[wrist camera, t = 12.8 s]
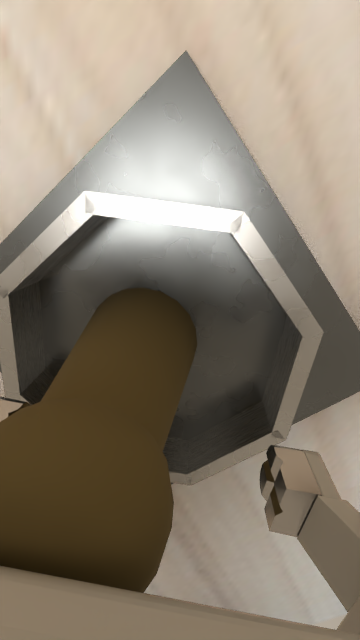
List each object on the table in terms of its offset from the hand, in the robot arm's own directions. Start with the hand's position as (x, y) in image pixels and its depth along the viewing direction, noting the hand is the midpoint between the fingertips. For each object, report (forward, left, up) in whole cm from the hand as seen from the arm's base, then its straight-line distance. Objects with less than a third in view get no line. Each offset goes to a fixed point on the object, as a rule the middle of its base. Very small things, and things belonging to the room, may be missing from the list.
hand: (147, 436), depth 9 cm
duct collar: (+1, 0, -7) cm, 7 cm away
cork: (+1, +1, -7) cm, 7 cm away
